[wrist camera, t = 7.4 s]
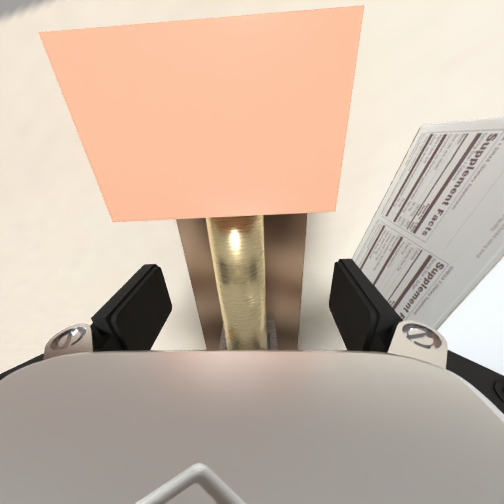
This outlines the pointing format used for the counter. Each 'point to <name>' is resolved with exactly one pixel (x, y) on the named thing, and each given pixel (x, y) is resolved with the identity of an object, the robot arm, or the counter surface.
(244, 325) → the tube
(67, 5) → the counter surface
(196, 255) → the base board
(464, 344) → the supplement box
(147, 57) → the socket block
